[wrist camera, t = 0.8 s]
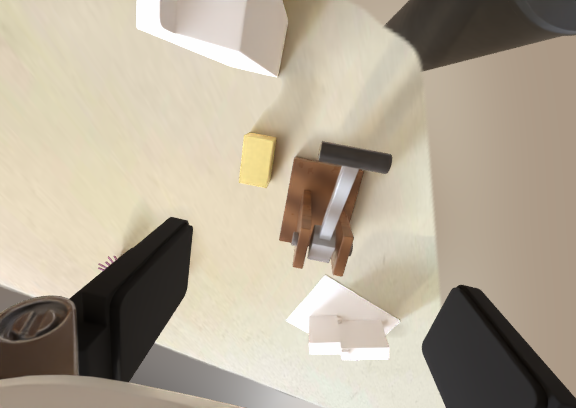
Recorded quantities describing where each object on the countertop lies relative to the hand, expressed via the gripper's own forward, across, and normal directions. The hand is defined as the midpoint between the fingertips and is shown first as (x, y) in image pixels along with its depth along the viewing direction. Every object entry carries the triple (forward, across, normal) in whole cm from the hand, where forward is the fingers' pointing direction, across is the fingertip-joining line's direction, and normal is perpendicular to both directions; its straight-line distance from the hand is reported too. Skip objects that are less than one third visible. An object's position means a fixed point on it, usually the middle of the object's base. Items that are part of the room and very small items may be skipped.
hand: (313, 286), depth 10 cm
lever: (+15, -2, +2) cm, 16 cm away
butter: (+28, +7, +2) cm, 28 cm away
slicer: (+28, -3, +7) cm, 29 cm away
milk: (+28, +9, -10) cm, 31 cm away
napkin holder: (+28, -11, +26) cm, 40 cm away
